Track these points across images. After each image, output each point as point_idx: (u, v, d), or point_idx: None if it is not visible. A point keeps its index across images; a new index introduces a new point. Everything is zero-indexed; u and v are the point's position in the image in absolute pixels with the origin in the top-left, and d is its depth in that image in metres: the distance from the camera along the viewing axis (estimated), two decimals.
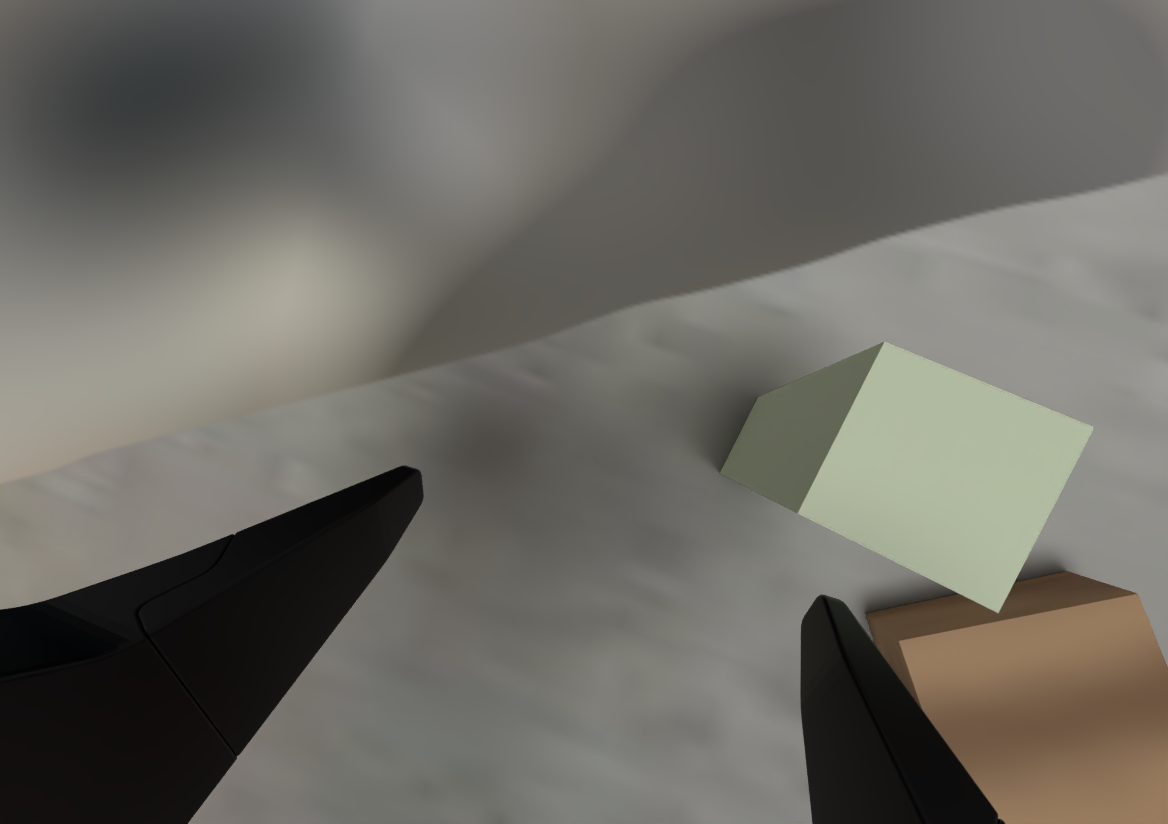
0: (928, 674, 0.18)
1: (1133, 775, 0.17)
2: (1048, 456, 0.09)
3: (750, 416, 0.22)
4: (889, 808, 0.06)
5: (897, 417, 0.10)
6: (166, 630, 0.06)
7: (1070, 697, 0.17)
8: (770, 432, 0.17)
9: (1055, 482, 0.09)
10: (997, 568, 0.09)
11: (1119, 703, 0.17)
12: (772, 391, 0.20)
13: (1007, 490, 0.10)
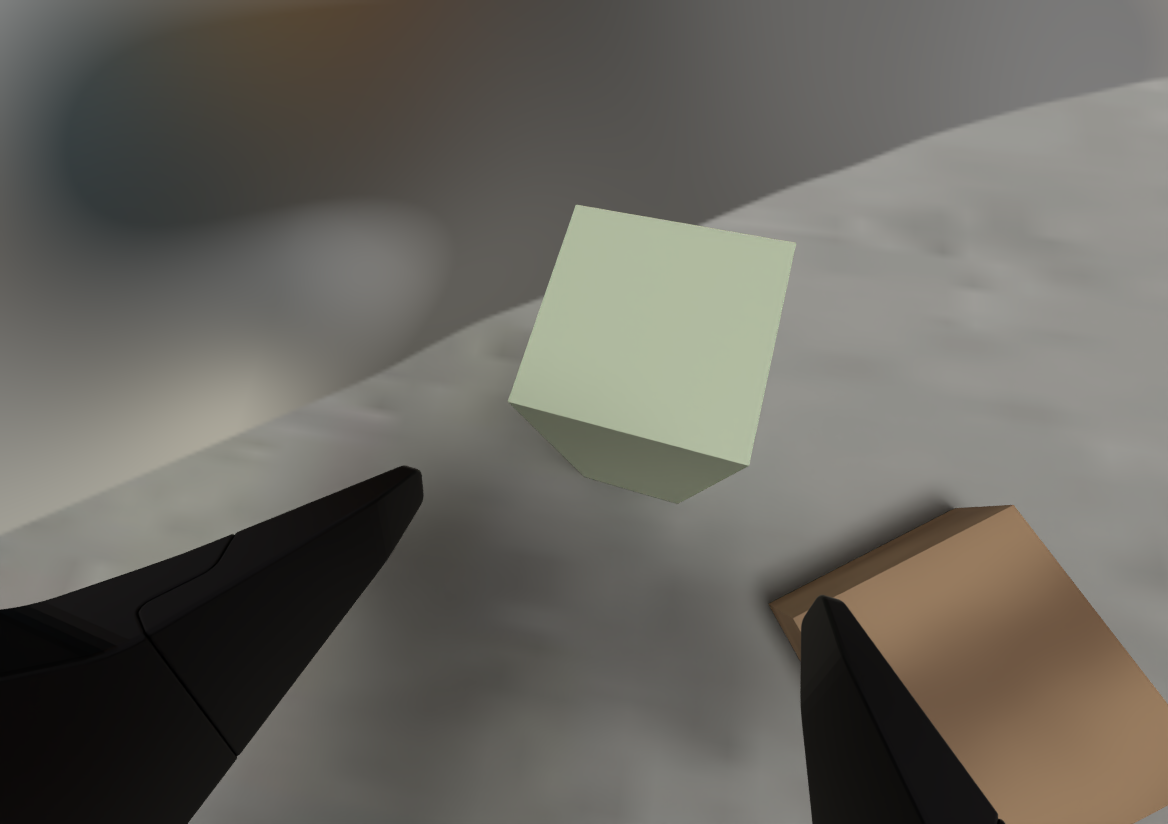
0: None
1: (1088, 725, 0.14)
2: (759, 280, 0.08)
3: None
4: (889, 809, 0.06)
5: (599, 274, 0.09)
6: (166, 630, 0.06)
7: (990, 643, 0.15)
8: None
9: (773, 305, 0.08)
10: (736, 412, 0.08)
11: (1041, 636, 0.15)
12: None
13: (727, 324, 0.08)
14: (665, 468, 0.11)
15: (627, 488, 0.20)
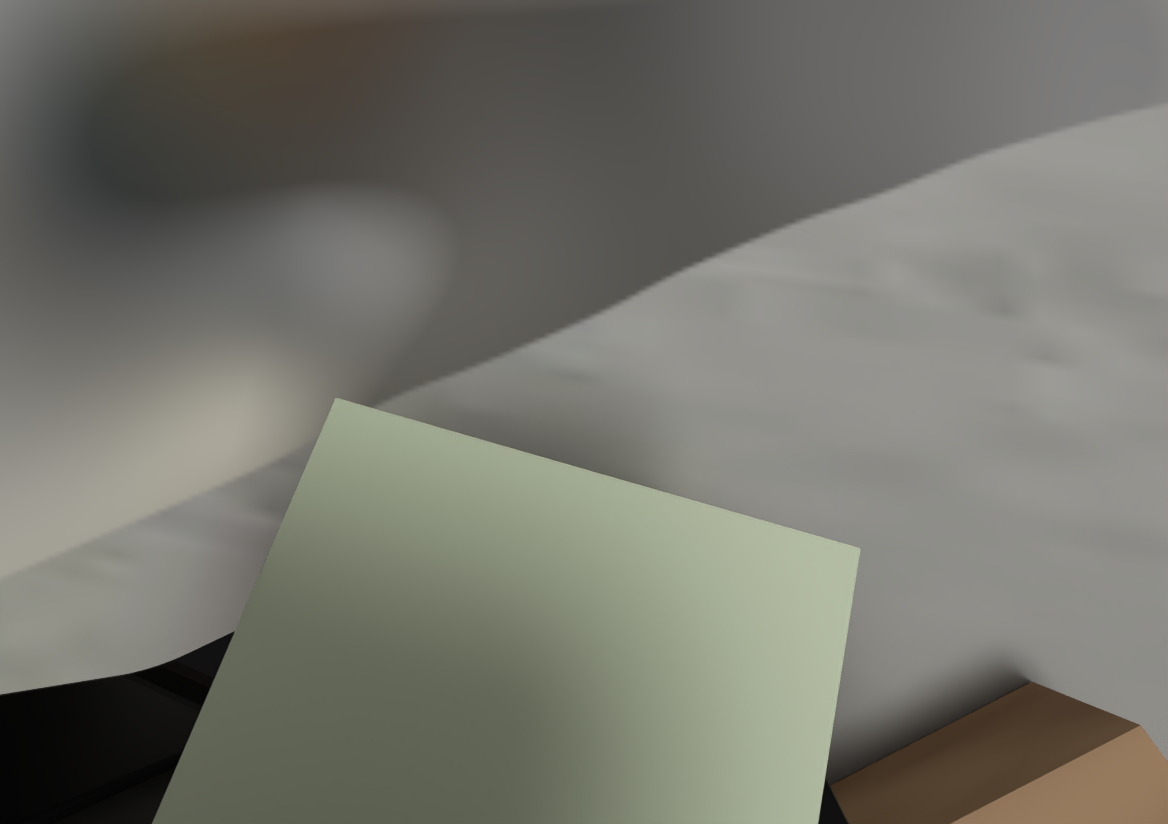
0: None
1: None
2: (762, 661, 0.03)
3: None
4: None
5: (363, 598, 0.03)
6: None
7: None
8: None
9: (800, 750, 0.03)
10: None
11: None
12: None
13: (671, 803, 0.03)
14: None
15: None
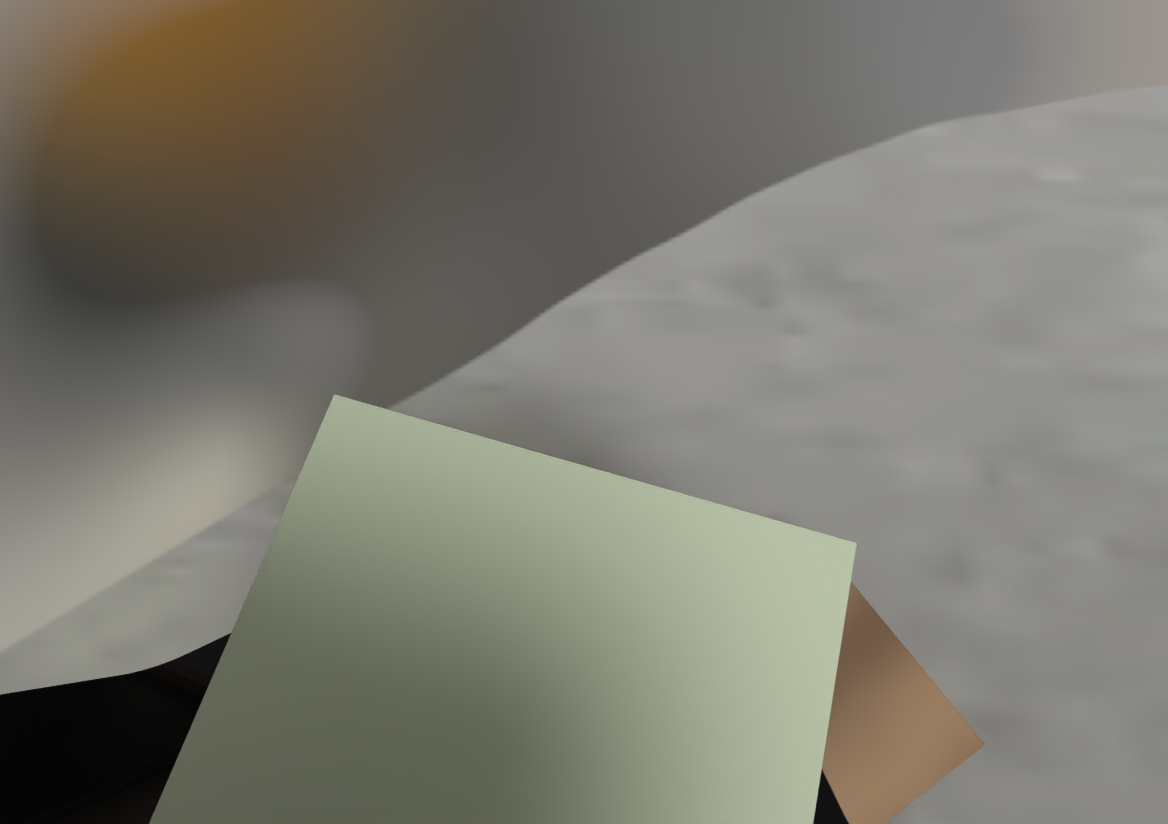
0: None
1: (881, 719, 0.17)
2: (759, 655, 0.03)
3: None
4: None
5: (360, 594, 0.04)
6: None
7: None
8: None
9: (798, 745, 0.03)
10: None
11: (842, 649, 0.17)
12: None
13: (668, 797, 0.03)
14: None
15: None
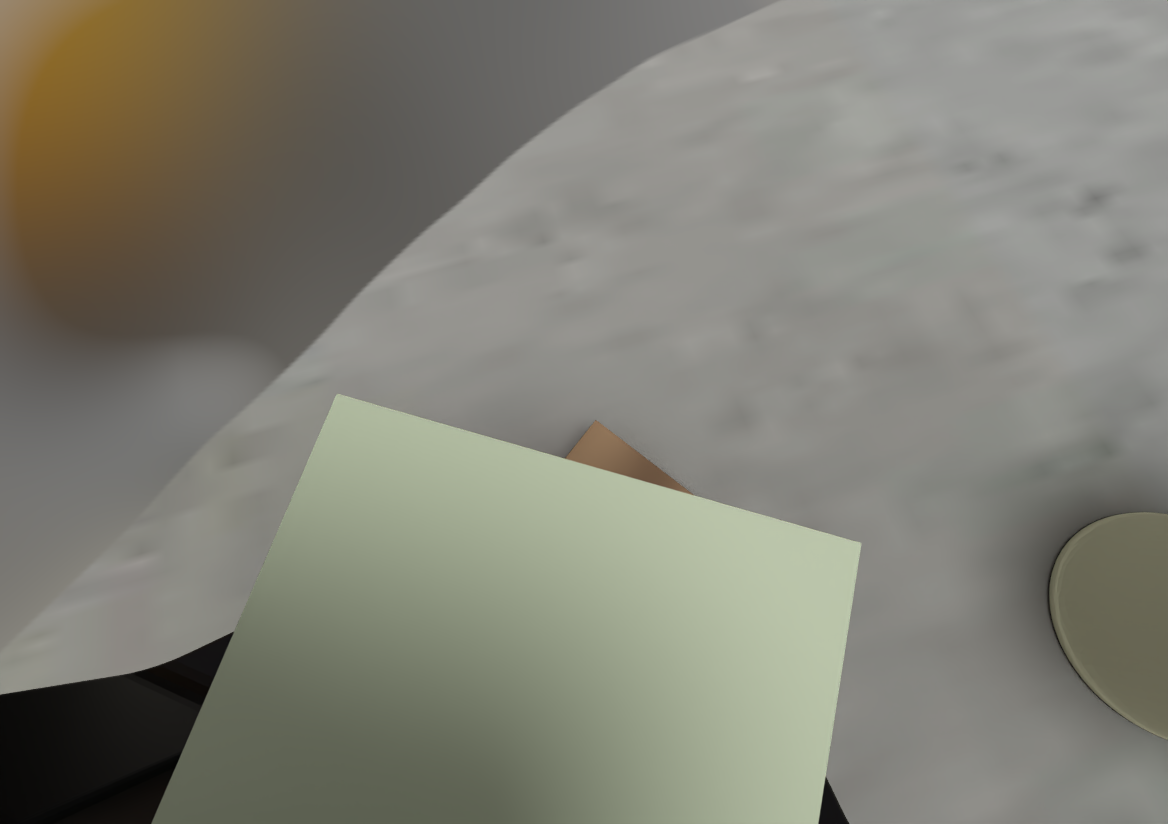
0: None
1: None
2: (763, 656, 0.03)
3: None
4: None
5: (365, 594, 0.03)
6: None
7: None
8: None
9: (803, 746, 0.03)
10: None
11: None
12: None
13: (672, 798, 0.03)
14: None
15: None
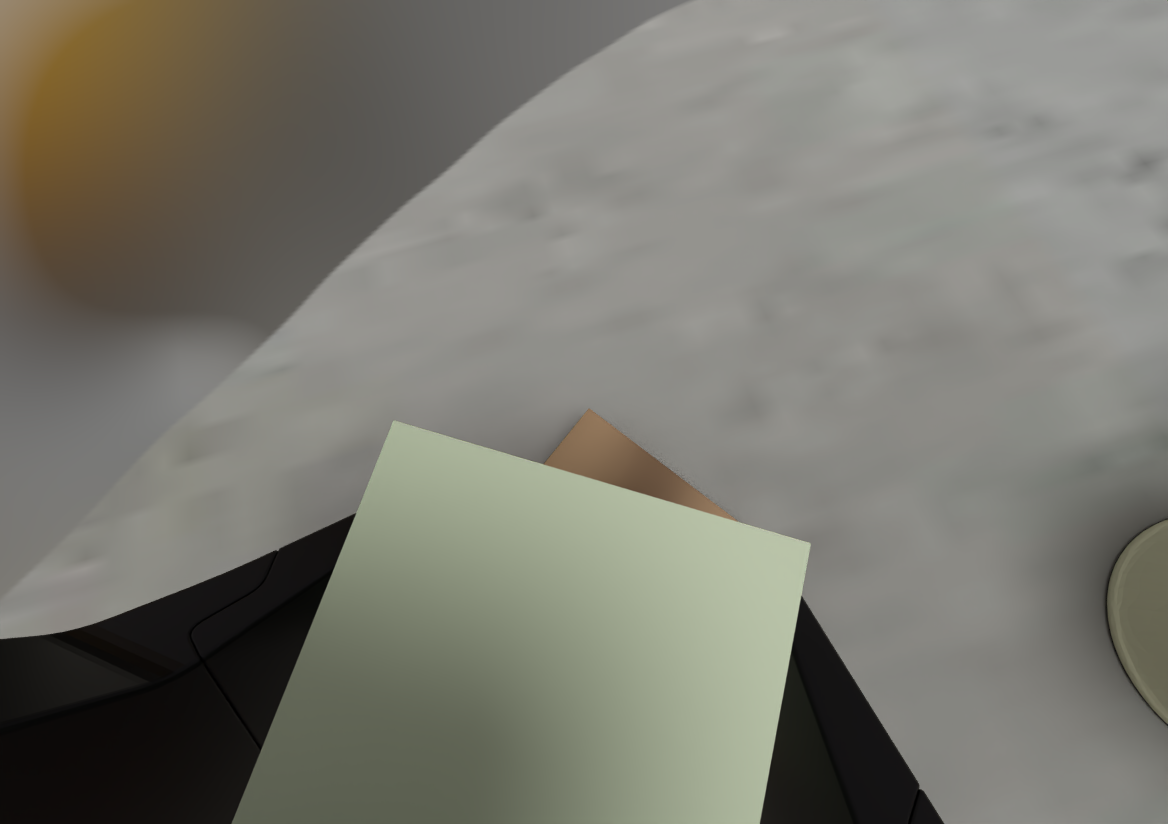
0: None
1: None
2: (734, 630, 0.04)
3: None
4: (817, 781, 0.06)
5: (420, 583, 0.04)
6: (218, 653, 0.06)
7: None
8: None
9: (761, 696, 0.04)
10: None
11: None
12: None
13: (663, 736, 0.04)
14: None
15: None
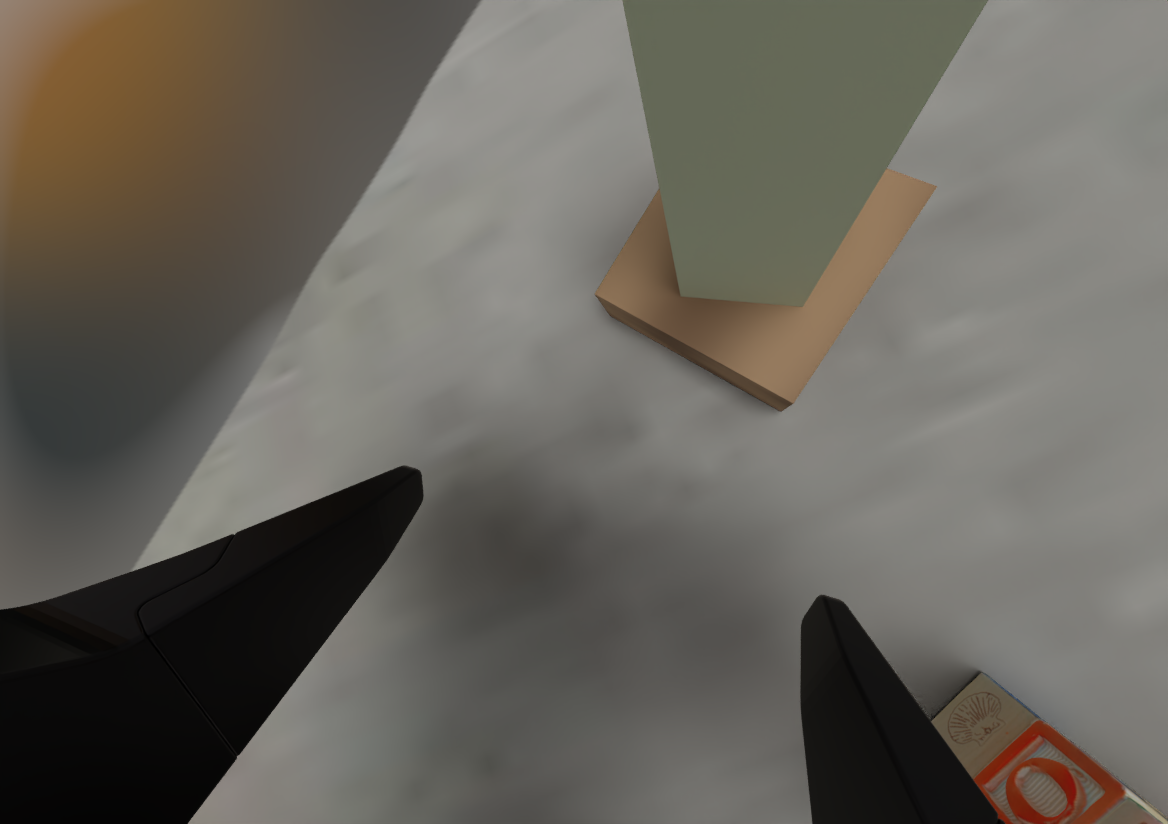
0: (633, 296, 0.18)
1: None
2: None
3: None
4: (889, 808, 0.06)
5: None
6: (166, 631, 0.06)
7: None
8: None
9: None
10: None
11: None
12: None
13: None
14: (841, 94, 0.07)
15: (736, 296, 0.16)
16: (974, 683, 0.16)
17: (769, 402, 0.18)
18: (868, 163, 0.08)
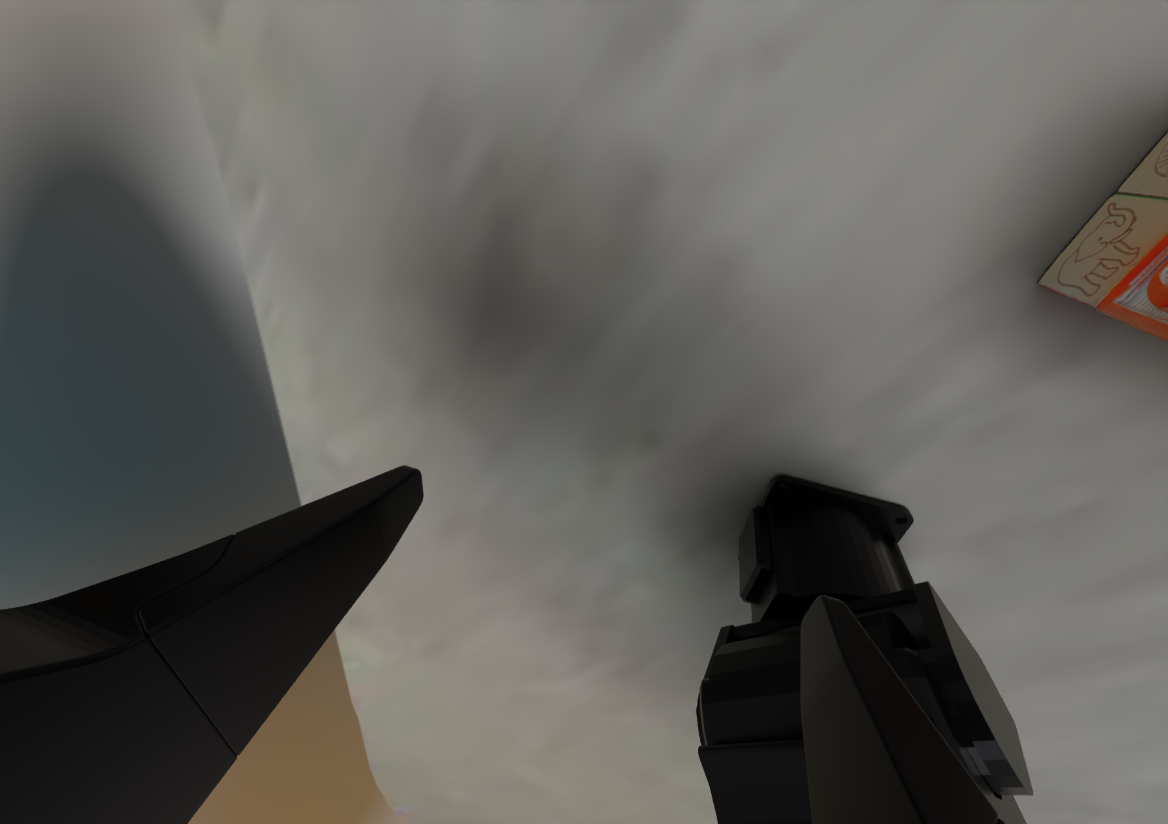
0: None
1: None
2: None
3: None
4: (889, 808, 0.06)
5: None
6: (166, 630, 0.06)
7: None
8: None
9: None
10: None
11: None
12: None
13: None
14: None
15: None
16: None
17: None
18: None
